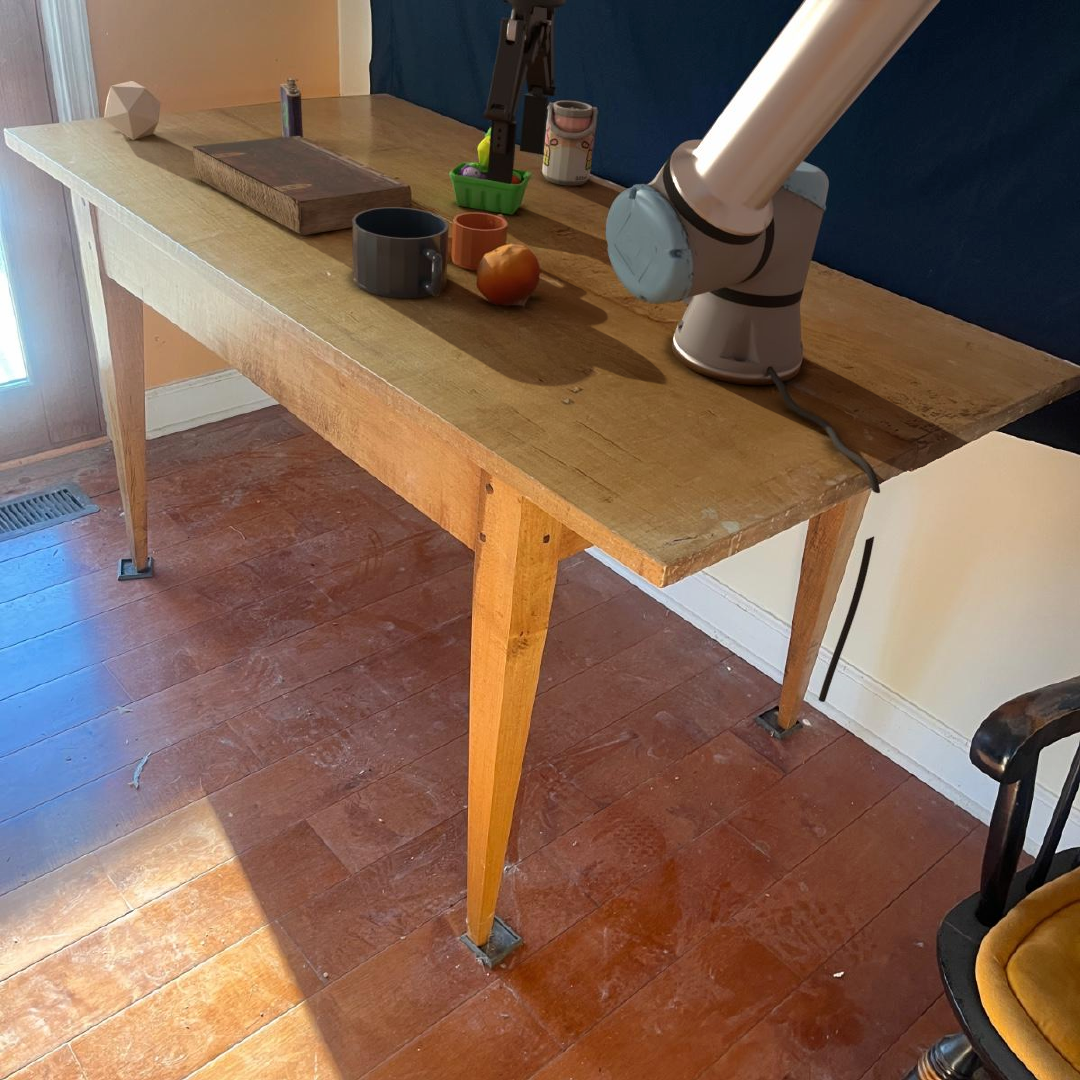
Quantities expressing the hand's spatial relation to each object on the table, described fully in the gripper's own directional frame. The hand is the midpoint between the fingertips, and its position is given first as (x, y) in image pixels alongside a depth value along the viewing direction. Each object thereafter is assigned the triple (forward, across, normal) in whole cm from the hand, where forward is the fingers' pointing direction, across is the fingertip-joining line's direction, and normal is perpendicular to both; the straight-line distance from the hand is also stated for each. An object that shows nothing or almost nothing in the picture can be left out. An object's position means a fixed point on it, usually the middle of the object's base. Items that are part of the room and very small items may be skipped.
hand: (516, 166), depth 121 cm
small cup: (+17, -12, -7) cm, 22 cm away
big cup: (+17, +2, -12) cm, 21 cm away
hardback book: (+17, -23, -38) cm, 48 cm away
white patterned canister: (+17, -55, -5) cm, 58 cm away
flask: (+18, -49, -52) cm, 74 cm away
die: (+18, -39, -76) cm, 87 cm away
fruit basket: (+17, -35, -13) cm, 41 cm away
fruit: (+17, 0, 0) cm, 17 cm away
